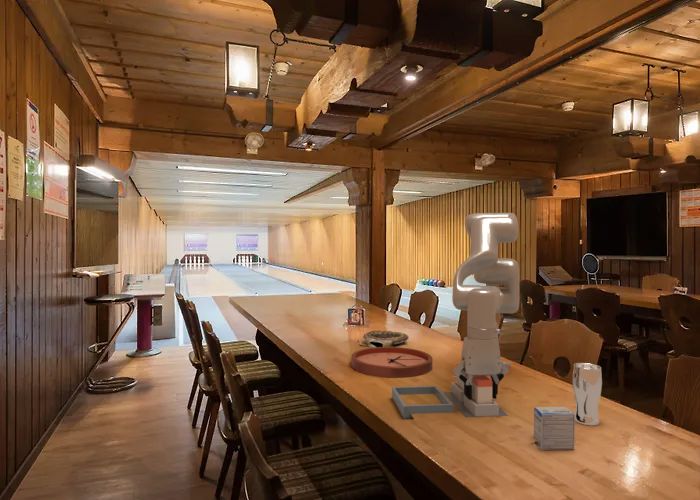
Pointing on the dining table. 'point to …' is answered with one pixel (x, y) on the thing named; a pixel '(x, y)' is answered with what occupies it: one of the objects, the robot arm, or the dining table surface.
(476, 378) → the block
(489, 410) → the board
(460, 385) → the block
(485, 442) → the dining table surface
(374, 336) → the pie
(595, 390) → the beer glass
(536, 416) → the medicine box
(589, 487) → the dining table surface
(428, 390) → the grey open square frame
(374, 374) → the clock
